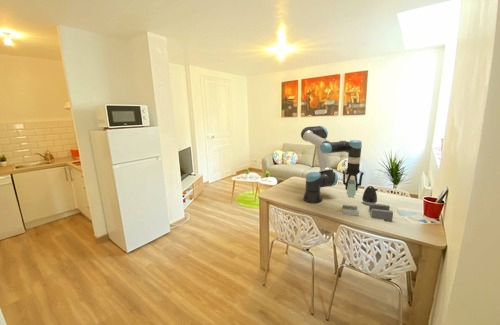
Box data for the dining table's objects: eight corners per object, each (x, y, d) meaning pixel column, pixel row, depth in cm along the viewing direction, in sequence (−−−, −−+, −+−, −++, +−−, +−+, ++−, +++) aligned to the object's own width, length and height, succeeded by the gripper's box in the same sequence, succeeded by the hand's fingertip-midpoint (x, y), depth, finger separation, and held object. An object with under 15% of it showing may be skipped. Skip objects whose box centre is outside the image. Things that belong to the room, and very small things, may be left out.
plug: (347, 197, 147) (349, 181, 144) (347, 194, 151) (348, 179, 148) (354, 197, 145) (355, 181, 142) (353, 195, 150) (354, 179, 147)
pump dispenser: (371, 208, 156) (373, 189, 153) (359, 203, 165) (360, 185, 162) (379, 205, 161) (381, 186, 157) (367, 200, 170) (368, 183, 166)
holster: (342, 215, 148) (343, 210, 147) (342, 209, 157) (342, 204, 156) (358, 217, 144) (358, 212, 143) (356, 210, 153) (357, 205, 152)
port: (371, 218, 141) (372, 209, 140) (368, 211, 152) (369, 202, 151) (392, 221, 137) (393, 211, 135) (387, 213, 148) (388, 204, 146)
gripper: (340, 163, 142) (338, 194, 148) (368, 164, 135) (365, 197, 141) (340, 160, 148) (337, 190, 154) (367, 162, 142) (363, 193, 148)
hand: (350, 194), depth 148 cm, fingers closed on plug, 4 cm apart
